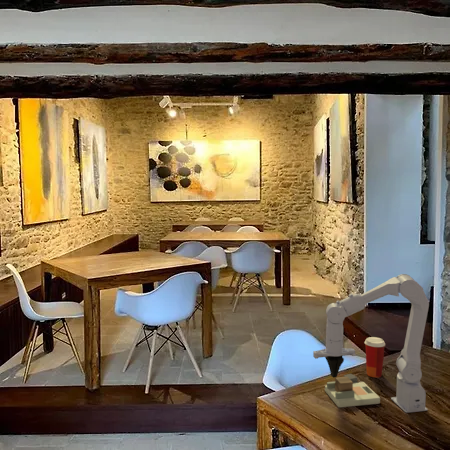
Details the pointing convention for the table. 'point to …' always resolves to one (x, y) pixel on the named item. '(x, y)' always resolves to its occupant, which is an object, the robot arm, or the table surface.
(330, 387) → the board
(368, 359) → the paper cup
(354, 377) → the charcoal block
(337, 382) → the walnut block
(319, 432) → the table surface
